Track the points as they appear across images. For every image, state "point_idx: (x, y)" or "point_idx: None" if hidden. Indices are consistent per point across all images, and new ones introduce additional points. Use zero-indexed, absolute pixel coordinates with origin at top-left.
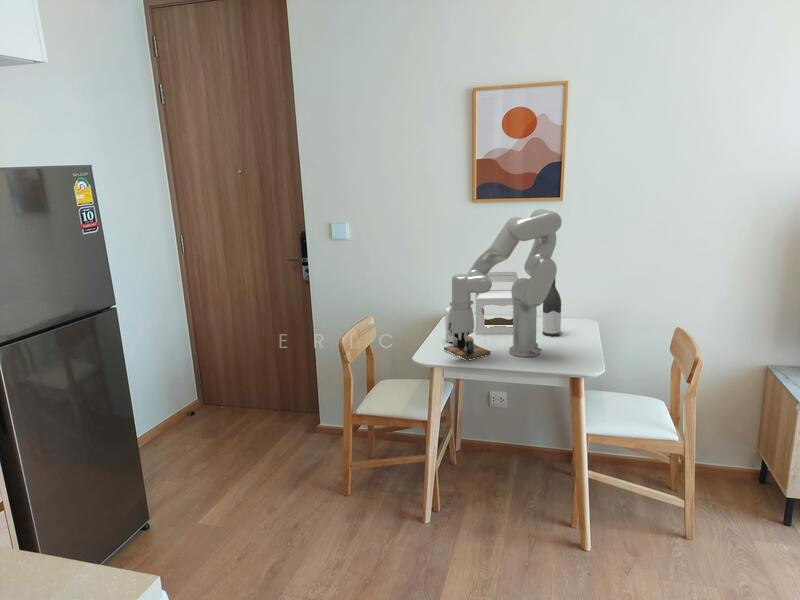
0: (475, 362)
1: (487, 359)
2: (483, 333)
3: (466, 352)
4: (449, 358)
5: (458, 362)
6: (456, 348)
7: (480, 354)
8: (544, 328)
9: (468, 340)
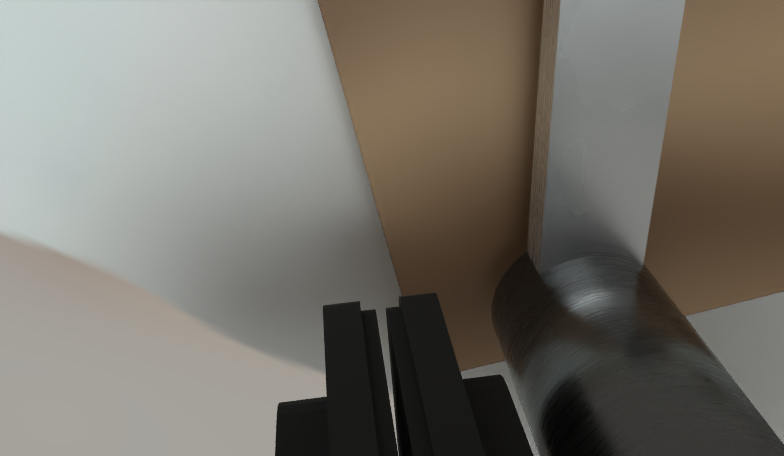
0: (519, 415)
1: (753, 369)
2: None
3: (496, 313)
4: (145, 91)
5: (259, 338)
6: None
7: (752, 293)
8: None
9: (718, 448)
